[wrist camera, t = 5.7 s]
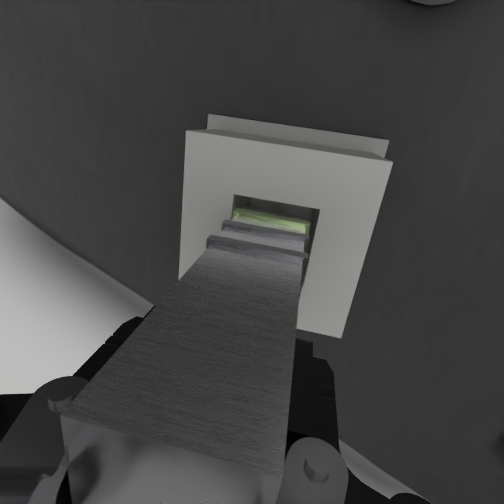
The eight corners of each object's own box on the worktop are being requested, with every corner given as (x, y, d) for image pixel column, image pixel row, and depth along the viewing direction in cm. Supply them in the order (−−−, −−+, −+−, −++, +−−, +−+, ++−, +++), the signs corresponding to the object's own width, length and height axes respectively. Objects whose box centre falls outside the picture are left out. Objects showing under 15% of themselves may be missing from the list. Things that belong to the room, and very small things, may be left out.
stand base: (211, 114, 26) (163, 108, 18) (387, 139, 24) (423, 147, 16) (199, 267, 32) (158, 317, 23) (342, 297, 30) (353, 362, 22)
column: (241, 202, 20) (48, 404, 6) (310, 215, 20) (297, 472, 5) (233, 265, 22) (70, 545, 7) (297, 277, 21) (258, 606, 7)
